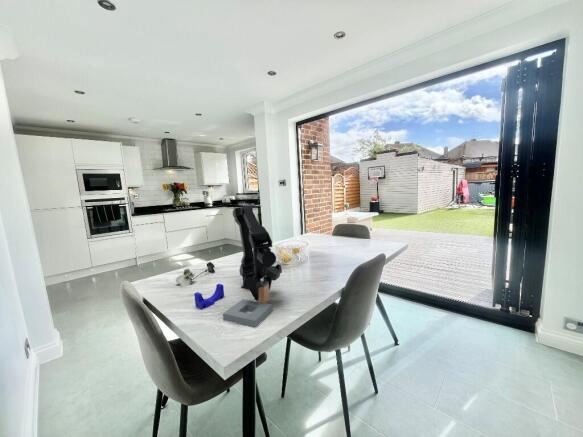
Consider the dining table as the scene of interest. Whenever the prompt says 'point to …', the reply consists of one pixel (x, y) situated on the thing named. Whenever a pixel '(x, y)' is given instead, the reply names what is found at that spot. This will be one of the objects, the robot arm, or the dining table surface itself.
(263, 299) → the tan upright block
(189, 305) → the dining table surface
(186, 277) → the artificial flower
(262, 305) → the socket plate
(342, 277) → the dining table surface
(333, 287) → the dining table surface
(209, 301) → the cable clip
